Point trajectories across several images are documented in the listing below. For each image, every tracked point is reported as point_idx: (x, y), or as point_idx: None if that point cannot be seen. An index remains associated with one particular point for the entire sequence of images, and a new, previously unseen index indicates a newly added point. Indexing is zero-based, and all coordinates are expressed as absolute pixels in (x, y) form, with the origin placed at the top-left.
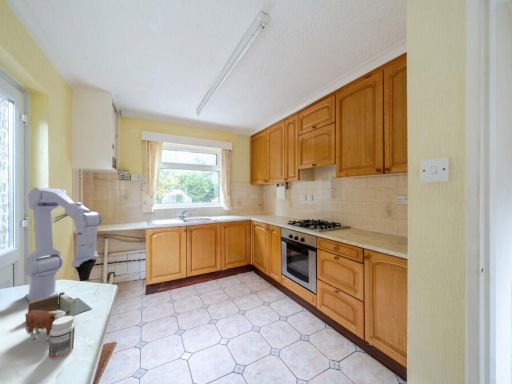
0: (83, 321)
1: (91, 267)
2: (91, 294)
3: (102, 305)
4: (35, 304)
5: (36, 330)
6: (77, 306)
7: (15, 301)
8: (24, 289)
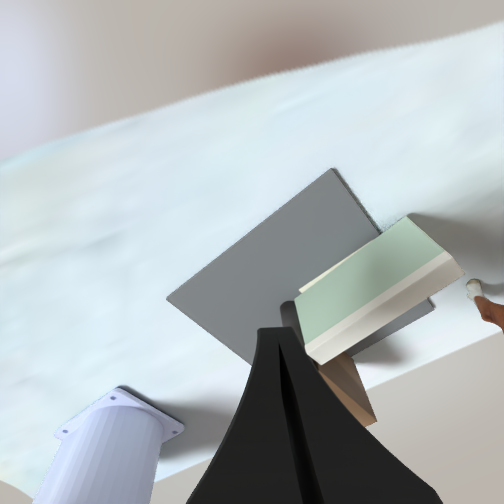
0: (470, 147)
1: (283, 430)
2: (117, 257)
3: (296, 122)
4: (364, 401)
5: (482, 294)
6: (280, 254)
7: (167, 459)
8: None
